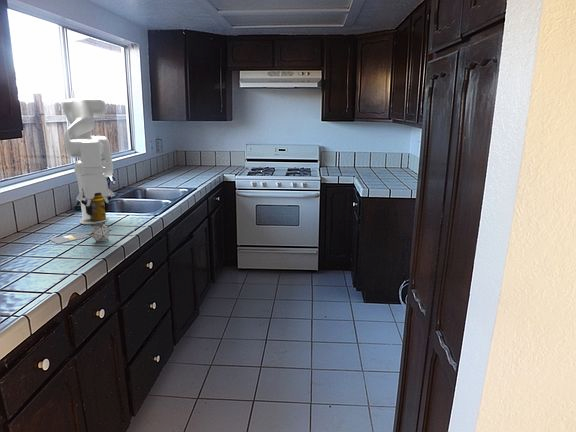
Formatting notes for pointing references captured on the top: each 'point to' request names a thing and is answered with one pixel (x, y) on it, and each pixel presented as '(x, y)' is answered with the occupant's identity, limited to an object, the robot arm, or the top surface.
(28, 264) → the top surface
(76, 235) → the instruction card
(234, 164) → the top surface
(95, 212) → the condiment
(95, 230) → the game die
